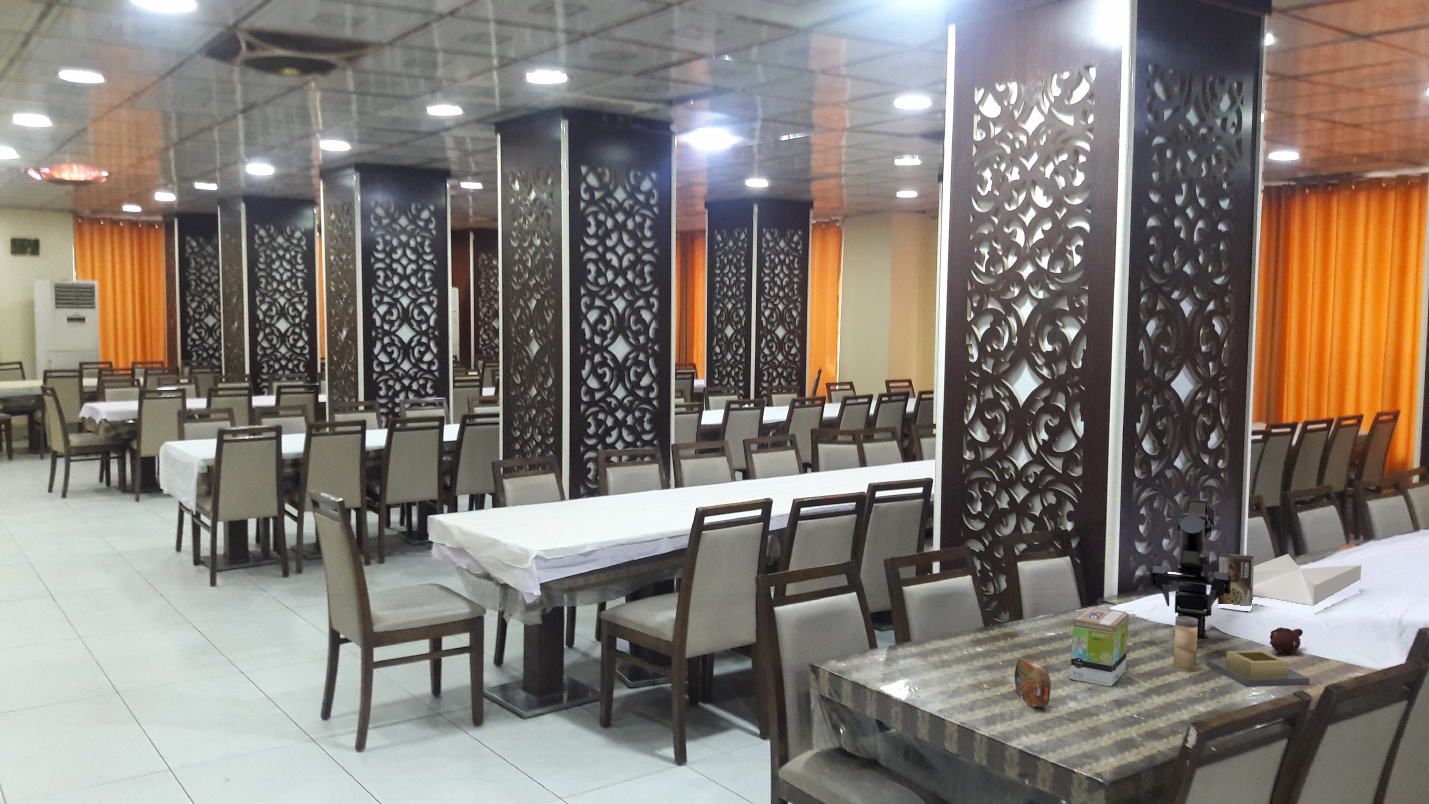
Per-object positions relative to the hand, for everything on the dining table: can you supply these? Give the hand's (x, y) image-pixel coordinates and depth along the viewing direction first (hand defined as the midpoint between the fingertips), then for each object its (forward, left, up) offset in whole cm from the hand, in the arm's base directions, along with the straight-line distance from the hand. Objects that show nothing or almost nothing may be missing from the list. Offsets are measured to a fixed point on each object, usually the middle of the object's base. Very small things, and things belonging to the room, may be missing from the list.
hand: (1187, 607), depth 272 cm
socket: (-11, +13, -13) cm, 21 cm away
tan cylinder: (+4, +7, -13) cm, 16 cm away
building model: (-76, -61, -14) cm, 99 cm away
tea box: (+28, +10, -14) cm, 33 cm away
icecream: (-30, -4, -14) cm, 33 cm away
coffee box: (-46, -48, -14) cm, 68 cm away
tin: (+52, +26, -14) cm, 60 cm away
